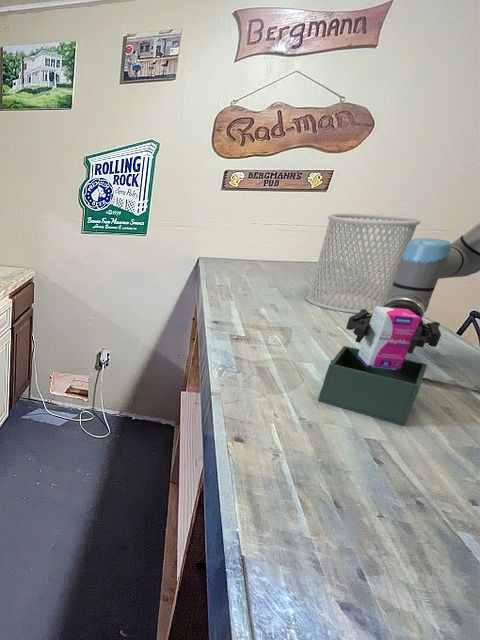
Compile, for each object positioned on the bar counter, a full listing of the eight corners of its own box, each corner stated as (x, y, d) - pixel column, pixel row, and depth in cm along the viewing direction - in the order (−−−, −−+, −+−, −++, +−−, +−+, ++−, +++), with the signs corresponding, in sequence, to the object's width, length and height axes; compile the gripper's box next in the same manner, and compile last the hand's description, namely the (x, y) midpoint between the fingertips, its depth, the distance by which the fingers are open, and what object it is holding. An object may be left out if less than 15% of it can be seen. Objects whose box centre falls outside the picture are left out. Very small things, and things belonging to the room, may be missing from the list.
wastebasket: (318, 291, 180) (341, 211, 168) (397, 305, 163) (428, 217, 151) (295, 302, 165) (318, 216, 153) (378, 319, 148) (411, 223, 136)
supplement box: (366, 368, 93) (385, 314, 88) (356, 357, 98) (373, 305, 93) (401, 371, 91) (422, 317, 86) (388, 360, 96) (408, 308, 91)
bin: (412, 400, 98) (427, 364, 94) (403, 426, 88) (420, 386, 85) (332, 379, 107) (343, 345, 104) (317, 400, 98) (329, 364, 94)
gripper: (454, 342, 98) (447, 374, 83) (341, 320, 111) (318, 345, 96) (468, 308, 95) (464, 336, 80) (351, 290, 108) (329, 311, 93)
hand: (385, 341), depth 88 cm, fingers closed on supplement box, 7 cm apart
